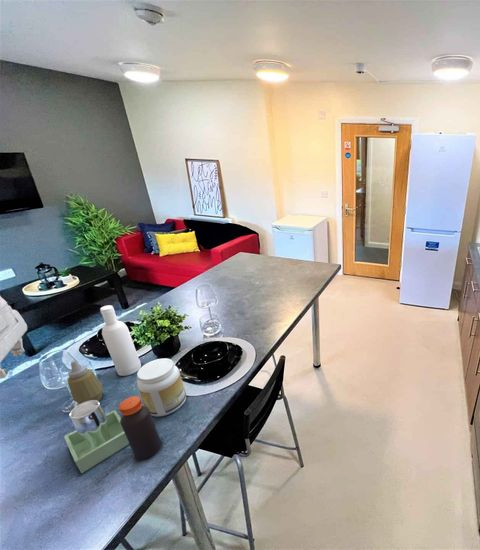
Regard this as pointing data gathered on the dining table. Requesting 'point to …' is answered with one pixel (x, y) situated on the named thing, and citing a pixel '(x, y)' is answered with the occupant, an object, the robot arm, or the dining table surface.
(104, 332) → the bottle
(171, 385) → the supplement tub
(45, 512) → the dining table surface
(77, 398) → the squeeze bottle
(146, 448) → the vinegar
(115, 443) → the tote
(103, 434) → the beer glass
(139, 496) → the dining table surface
